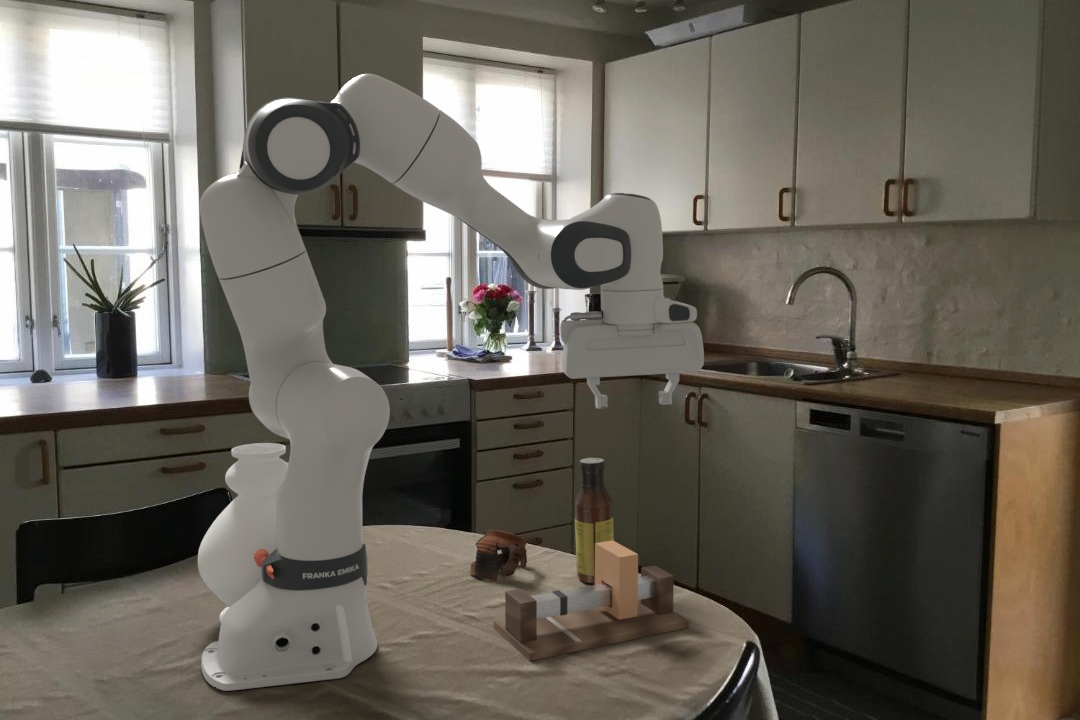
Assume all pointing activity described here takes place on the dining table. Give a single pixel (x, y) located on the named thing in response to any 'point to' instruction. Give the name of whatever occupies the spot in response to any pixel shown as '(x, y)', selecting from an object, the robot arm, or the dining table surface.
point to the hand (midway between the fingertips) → (633, 405)
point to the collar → (618, 577)
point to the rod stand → (586, 617)
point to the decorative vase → (243, 523)
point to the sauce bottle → (591, 517)
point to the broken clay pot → (491, 560)
